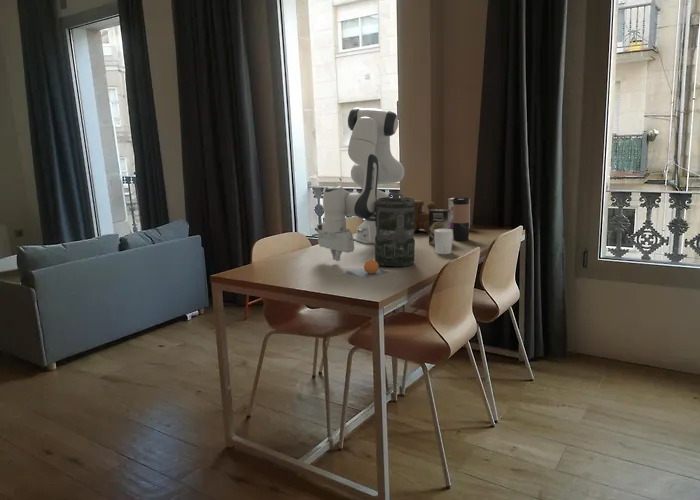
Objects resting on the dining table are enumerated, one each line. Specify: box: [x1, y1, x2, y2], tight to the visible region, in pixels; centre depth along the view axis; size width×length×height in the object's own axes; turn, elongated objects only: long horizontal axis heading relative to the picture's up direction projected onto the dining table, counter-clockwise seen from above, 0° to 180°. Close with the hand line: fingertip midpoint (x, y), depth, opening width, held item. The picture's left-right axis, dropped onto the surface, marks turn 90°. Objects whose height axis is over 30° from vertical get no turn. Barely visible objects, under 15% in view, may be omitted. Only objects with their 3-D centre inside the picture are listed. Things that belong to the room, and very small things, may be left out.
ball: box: [363, 259, 380, 274], centre depth 200 cm, size 6×6×6 cm
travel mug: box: [452, 197, 470, 242], centre depth 257 cm, size 8×8×20 cm
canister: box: [374, 192, 416, 268], centre depth 212 cm, size 16×16×28 cm
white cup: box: [434, 229, 453, 255], centre depth 231 cm, size 8×8×10 cm
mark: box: [344, 267, 390, 279], centre depth 203 cm, size 12×12×1 cm
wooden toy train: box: [414, 199, 437, 234], centre depth 283 cm, size 20×11×17 cm, turn 66°
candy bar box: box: [447, 197, 471, 230], centre depth 288 cm, size 11×5×16 cm, turn 46°
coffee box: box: [428, 208, 450, 246], centre depth 250 cm, size 9×6×16 cm
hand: (336, 260), depth 218 cm, fingers closed
